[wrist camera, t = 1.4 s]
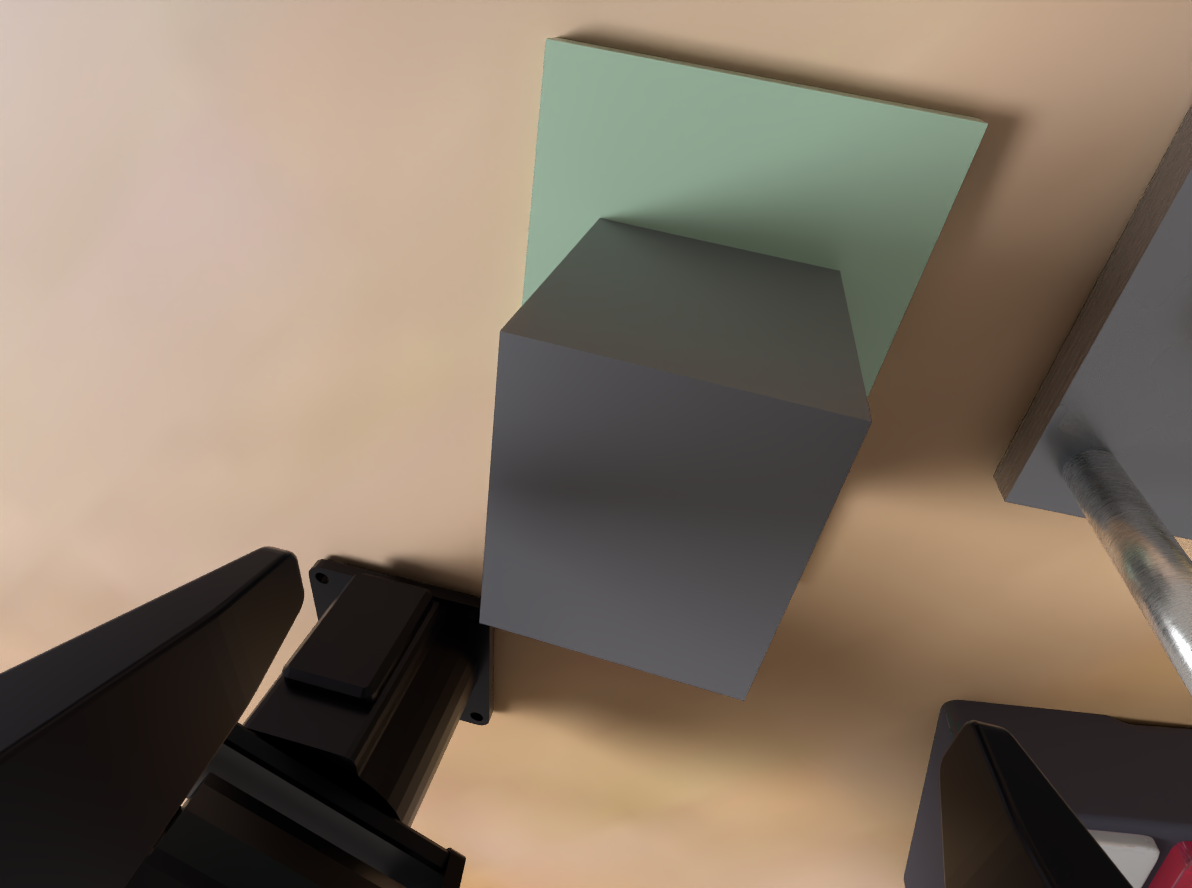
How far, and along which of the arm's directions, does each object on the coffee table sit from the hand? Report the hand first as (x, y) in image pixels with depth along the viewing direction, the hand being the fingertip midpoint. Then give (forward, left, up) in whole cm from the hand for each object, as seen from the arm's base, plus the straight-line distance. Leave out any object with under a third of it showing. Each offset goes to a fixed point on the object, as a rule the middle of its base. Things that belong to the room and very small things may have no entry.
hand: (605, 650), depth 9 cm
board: (0, 0, -9) cm, 9 cm away
